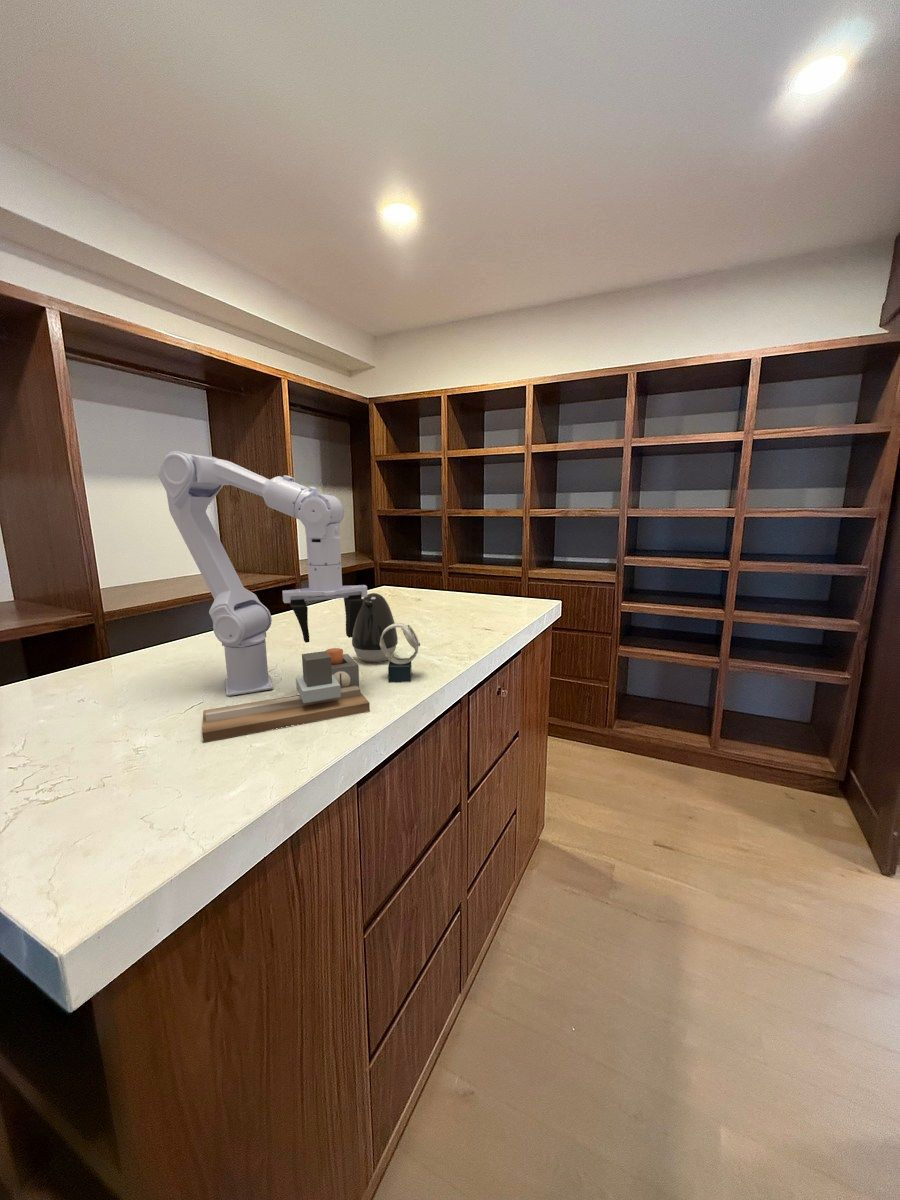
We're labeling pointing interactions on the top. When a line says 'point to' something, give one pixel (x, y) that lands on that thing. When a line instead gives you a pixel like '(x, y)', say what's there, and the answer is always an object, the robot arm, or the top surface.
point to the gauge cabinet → (346, 672)
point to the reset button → (335, 655)
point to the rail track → (278, 714)
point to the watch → (400, 666)
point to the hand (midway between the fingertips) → (328, 638)
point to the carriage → (317, 678)
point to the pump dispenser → (373, 629)
